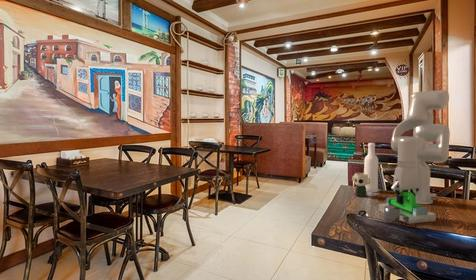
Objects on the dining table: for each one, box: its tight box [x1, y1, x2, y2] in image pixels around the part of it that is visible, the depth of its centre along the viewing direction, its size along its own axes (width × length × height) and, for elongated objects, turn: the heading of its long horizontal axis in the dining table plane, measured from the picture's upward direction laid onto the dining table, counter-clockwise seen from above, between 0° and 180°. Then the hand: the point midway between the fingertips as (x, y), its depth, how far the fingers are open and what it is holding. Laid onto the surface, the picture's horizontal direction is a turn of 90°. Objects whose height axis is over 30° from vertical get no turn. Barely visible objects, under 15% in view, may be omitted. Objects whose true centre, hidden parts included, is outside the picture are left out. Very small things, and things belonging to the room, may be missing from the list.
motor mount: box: [377, 196, 437, 225], centre depth 124 cm, size 22×18×6 cm
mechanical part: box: [391, 191, 424, 212], centre depth 125 cm, size 12×6×8 cm, turn 13°
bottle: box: [363, 142, 379, 193], centre depth 167 cm, size 8×8×30 cm
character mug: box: [351, 172, 370, 197], centre depth 157 cm, size 11×7×13 cm, turn 34°
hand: (405, 202), depth 125 cm, fingers closed on mechanical part, 6 cm apart
